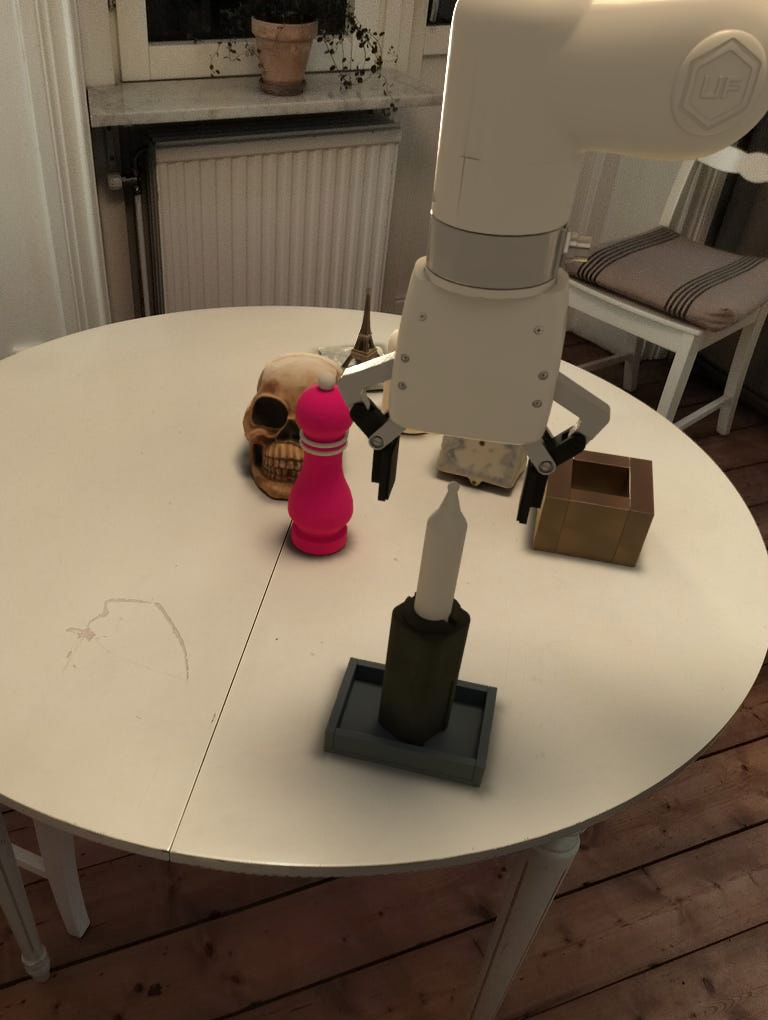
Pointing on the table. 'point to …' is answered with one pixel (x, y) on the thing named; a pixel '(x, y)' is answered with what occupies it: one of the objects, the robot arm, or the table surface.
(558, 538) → the holder
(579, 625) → the table surface
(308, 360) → the skull
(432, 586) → the candle
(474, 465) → the incense holder
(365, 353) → the eiffel tower figurine
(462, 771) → the tray
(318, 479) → the pepper mill
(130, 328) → the table surface
